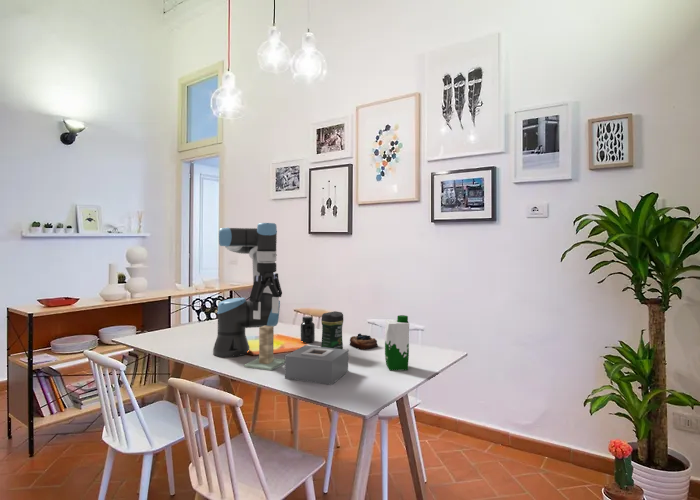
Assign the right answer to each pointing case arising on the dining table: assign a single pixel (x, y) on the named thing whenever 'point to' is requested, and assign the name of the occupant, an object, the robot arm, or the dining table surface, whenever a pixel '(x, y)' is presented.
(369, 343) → the pastry
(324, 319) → the coffee jar
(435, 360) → the dining table surface
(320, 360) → the grey socket block
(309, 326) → the supplement bottle
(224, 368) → the dining table surface
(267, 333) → the peg
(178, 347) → the dining table surface
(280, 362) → the mat
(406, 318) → the milk carton
